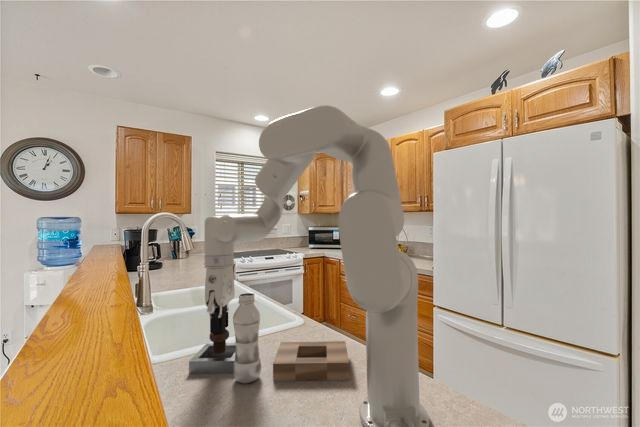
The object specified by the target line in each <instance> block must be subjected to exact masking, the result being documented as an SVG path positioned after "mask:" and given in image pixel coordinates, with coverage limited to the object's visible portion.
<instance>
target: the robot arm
mask: <svg viewBox="0 0 640 427" xmlns="http://www.w3.org/2000/svg"><path fill="white" fill-rule="evenodd" d="M266 125H267V124H266ZM258 148H259V151H260V153H261V154H262V156H263V157H265V158H266V159H267V160H266V162H265V163H264V164H263V166H262V167H261V169H260V170H259V171H258V173H257V174H256V175H255V178H254V182H255V185H256V188H257V189H258V190H259V191H260V192H261V194H263V195H264V199H263V202H262V203H261V205H260V206H259V208H258V209H257V211H256V212H255V213H253V214H248V213H247V214H244V213H243V214H239V213H238V214H236V213H232V214H225V215H211V216H208V217H206V218H204V269H206V271H205V279H204V281H205V282H204V304H205V306H206V307H207V309H206V313H208V314H209V319H210V320H209V324H210V325H209V327H210V328H209V329H210V330H209V332H210V333H222V332H223V317H222V307H224V306H225V305H226V311H225V313H226V316H225V317H226V321H225V322H226V326H225V327H226V328H228V327H229V309H230V308H229V305H230V304H229V303H230V302H232V300H233V299H234V298H235V292H236V291H235V276H234V268H233V267H235V266H234V265H235V257H234V255H235V249H234V248H235V246H234V245H235V244H237V245H238V244H244V243H245V244H246V243H255V242H259V241H262V240H264V239H265V238H266V237H267V236H268V235H270V233H271V232H272V231H273V230H274V228H275V227H276V226H277V224H278V223H279V222H280V220H281V217H282V214H283V212H284V207H285V206H284V205H285V203H284V202H285V198H286V196H288V193H289V192H290V191H291V189H292V188H293V187H294V185H295V184H296V183H297V182H298V181H299V179H300V178H301V176H302V175H303V174H304V172H305V171H306V170H307V169H308V167H309V166H310V164H311V163H312V162H313V160H314V159H315V157H316V154H317V153H322V154H324V155H326V156H329V157H331V158H333V159H336V160H339V161H343V162H349V163H350V164H352V171H351V172H352V173H351V174H352V175H351V176H352V184H353V185H352V186H353V188H354V192H353V193H352V194H350V195H349V196H348V197H347V198H345V200H344V202H343V204H342V205H341V207H340V210H339V214H338V220H337V221H338V223H337V224H338V226H337V227H338V234H339V242H340V249H341V250H340V251H341V256H342V262H343V270H344V276H345V277H344V278H345V282H346V286H347V289H348V292H349V295H350V297H351V298H352V300H353V301H354V303H355V304H356V305H357V306H358V307H360V308H361V309H363V310H364V311H366V312H365V345H366V346H365V348H366V349H365V351H366V385H367V386H366V389H367V390H366V391H367V393H366V394H367V396H366V397H365V398H364V399H363V400H362V401H361V402H360V406H359V418H360V422H361V423H362V425H363V427H430V417H429V414H428V411H427V410H426V408H425V407H424V406H423V405H422V404H421V403H420V375H419V374H420V372H419V346H418V345H419V342H418V339H419V335H418V334H419V332H418V331H419V329H418V301H419V300H418V298H419V297H418V296H419V274H418V269H417V266H416V265H415V263H414V261H413V259H412V258H411V257H410V255H408V254H407V253H406V252H404V251H402V250H400V249H399V246H398V240H397V237H399V235H400V234H401V232H402V231H403V228H404V226H405V214H404V209H403V205H402V199H401V195H400V194H401V193H400V189H399V188H400V187H399V183H398V178H397V174H396V170H395V169H396V168H395V162H394V158H393V154H392V153H393V152H392V150H391V147H390V144H389V142H388V141H387V140H386V138H385V137H384V136H383V135H382V134H381V133H380V132H378V131H376V130H374V129H371V128H368V127H365V126H362V125H360V124H359V123H357V122H356V121H355V120H353V119H352V118H351V117H350V116H348V115H347V114H346V113H345V112H343V111H342V110H341V109H340V108H338V107H335V106H331V105H317V106H314V107H311V108H307V109H304V110H300V111H298V112H295V113H292V114H287V115H285V116H282V117H279V118H277V119H275V120H273V121H271V122H269V123H268V125H267V126H265V127H264V129H262V131H261V133H260V135H259V139H258ZM215 303H217V304H218V305H215ZM215 308H218V310H217V309H215ZM210 333H209V334H210Z"/></svg>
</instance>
